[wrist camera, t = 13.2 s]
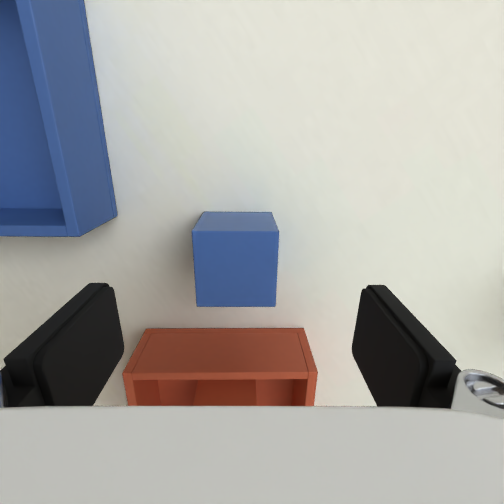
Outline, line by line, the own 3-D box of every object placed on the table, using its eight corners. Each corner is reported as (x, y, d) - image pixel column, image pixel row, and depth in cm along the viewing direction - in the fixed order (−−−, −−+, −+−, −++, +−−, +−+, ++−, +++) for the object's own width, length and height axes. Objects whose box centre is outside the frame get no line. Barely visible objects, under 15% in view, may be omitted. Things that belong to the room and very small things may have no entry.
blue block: (206, 273, 20) (196, 306, 16) (203, 211, 19) (191, 230, 14) (269, 273, 20) (275, 307, 16) (271, 212, 19) (279, 231, 15)
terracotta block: (202, 413, 24) (192, 470, 20) (199, 372, 23) (188, 424, 18) (254, 413, 24) (256, 469, 20) (255, 372, 23) (257, 423, 19)
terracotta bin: (161, 439, 26) (145, 497, 22) (146, 328, 22) (121, 373, 18) (293, 438, 26) (303, 495, 22) (303, 327, 22) (317, 372, 18)
